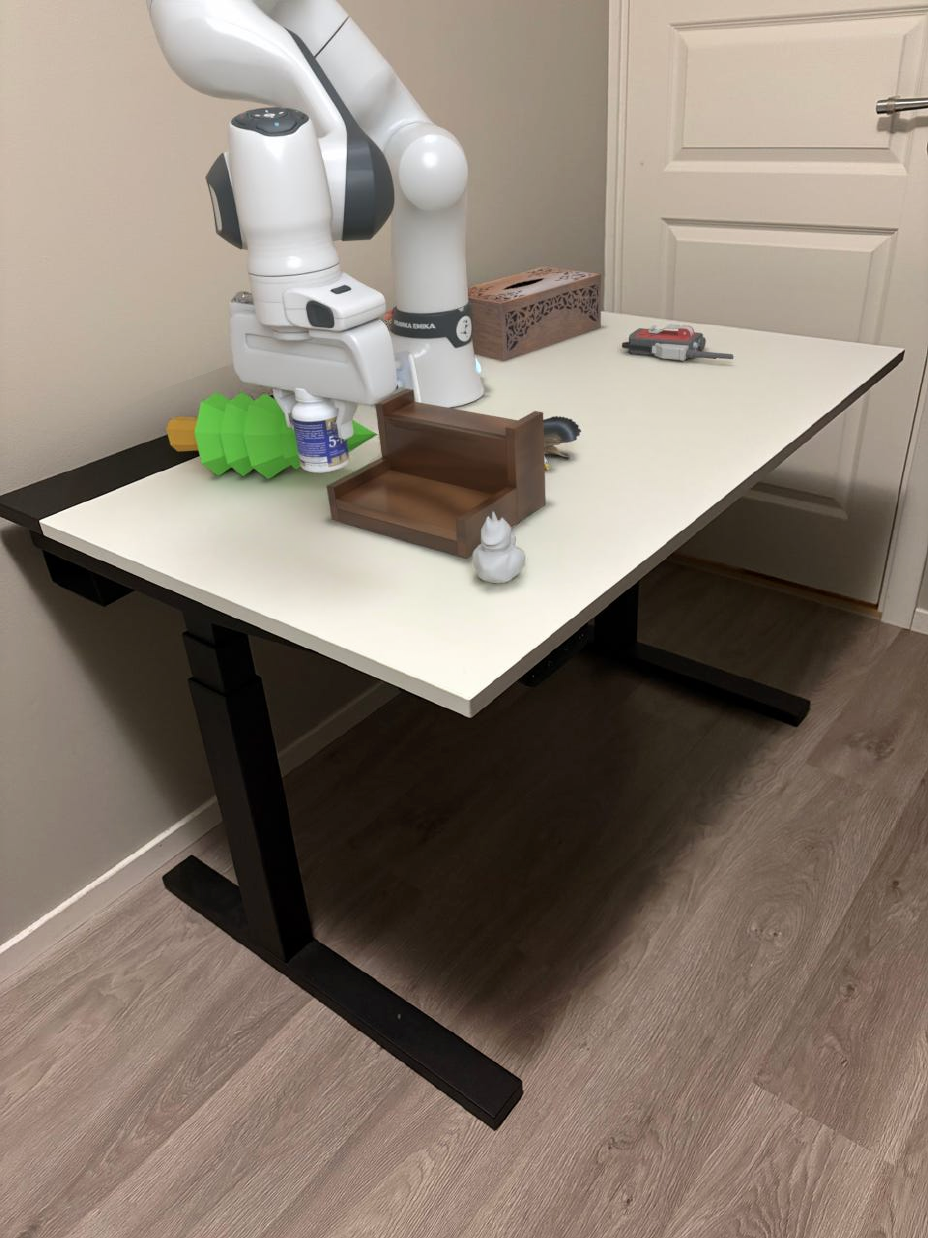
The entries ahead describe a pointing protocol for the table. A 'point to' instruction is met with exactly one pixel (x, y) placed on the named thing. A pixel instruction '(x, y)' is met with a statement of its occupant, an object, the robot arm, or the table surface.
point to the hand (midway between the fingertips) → (320, 432)
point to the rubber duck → (497, 552)
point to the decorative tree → (244, 435)
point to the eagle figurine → (558, 434)
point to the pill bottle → (317, 433)
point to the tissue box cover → (533, 310)
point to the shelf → (443, 475)
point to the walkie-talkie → (670, 343)
